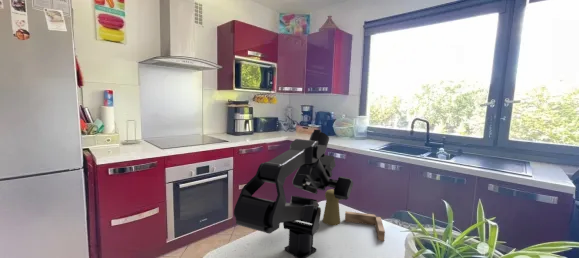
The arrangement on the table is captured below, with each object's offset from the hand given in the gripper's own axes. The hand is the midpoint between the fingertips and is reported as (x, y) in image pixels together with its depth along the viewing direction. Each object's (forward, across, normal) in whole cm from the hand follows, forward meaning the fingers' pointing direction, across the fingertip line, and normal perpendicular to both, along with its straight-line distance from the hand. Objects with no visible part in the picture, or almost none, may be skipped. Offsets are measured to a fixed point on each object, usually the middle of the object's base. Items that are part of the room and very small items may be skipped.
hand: (328, 195), depth 87 cm
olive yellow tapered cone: (+9, 0, +5) cm, 10 cm away
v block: (+12, -12, +2) cm, 17 cm away
